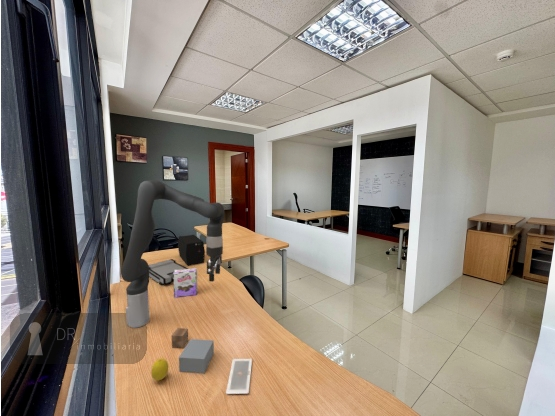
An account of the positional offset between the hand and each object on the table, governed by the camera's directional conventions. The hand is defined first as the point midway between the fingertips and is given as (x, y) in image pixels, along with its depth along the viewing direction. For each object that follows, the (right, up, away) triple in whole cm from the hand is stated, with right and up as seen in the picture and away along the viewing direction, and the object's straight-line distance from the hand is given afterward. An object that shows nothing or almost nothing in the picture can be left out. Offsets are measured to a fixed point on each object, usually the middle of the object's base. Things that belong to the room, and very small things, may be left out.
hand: (214, 277), depth 106 cm
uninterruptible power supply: (-51, -16, +101) cm, 114 cm away
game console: (-54, -20, +63) cm, 85 cm away
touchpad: (+16, -31, -23) cm, 42 cm away
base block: (-2, -29, -17) cm, 34 cm away
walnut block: (-14, -28, -7) cm, 32 cm away
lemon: (-13, -30, -25) cm, 41 cm away
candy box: (-29, -23, +37) cm, 53 cm away
